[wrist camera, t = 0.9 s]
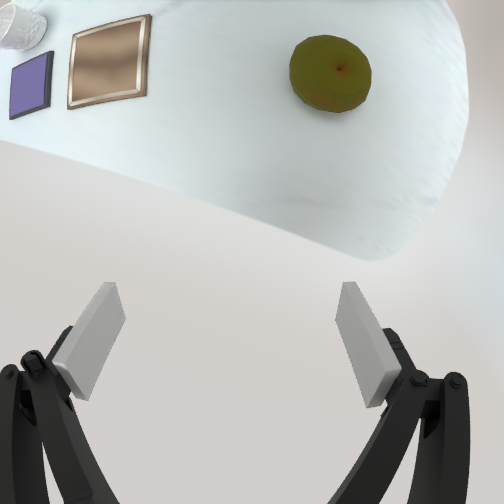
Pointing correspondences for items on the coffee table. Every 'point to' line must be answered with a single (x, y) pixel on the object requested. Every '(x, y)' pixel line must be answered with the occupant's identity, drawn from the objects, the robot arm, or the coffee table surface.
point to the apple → (330, 73)
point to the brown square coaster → (109, 62)
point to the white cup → (20, 27)
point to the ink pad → (31, 85)
